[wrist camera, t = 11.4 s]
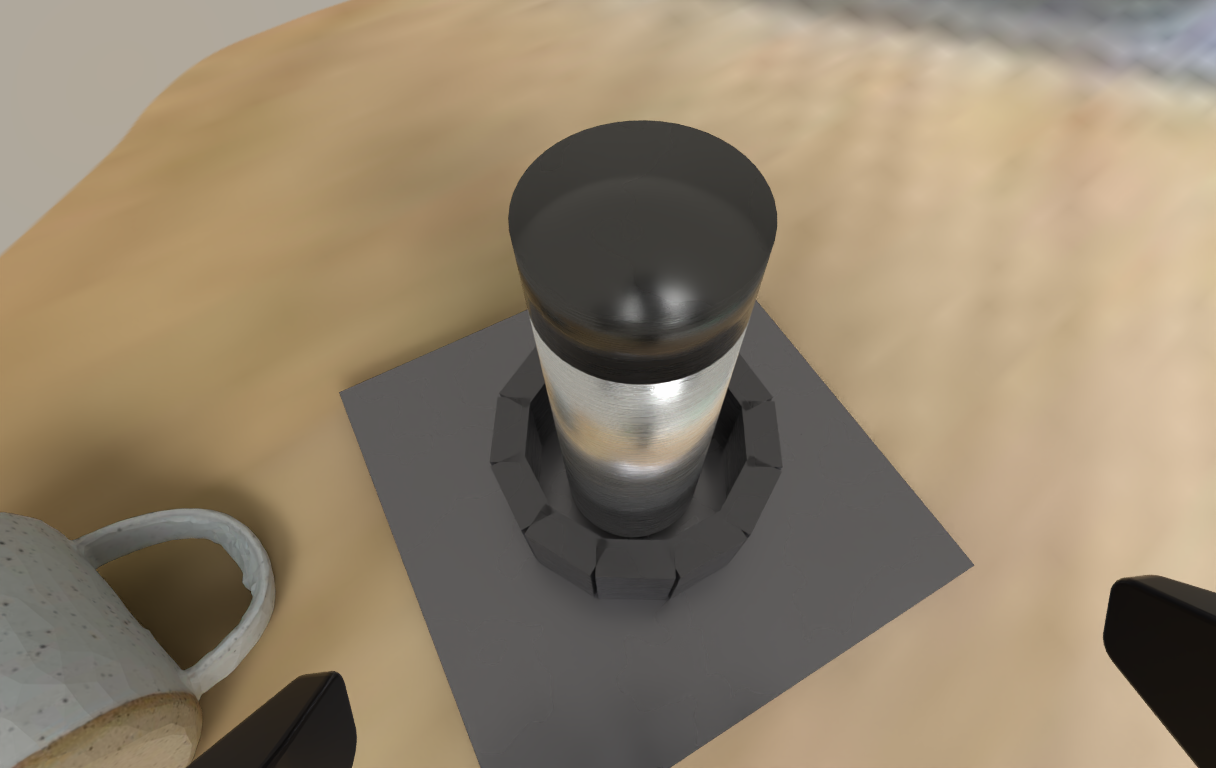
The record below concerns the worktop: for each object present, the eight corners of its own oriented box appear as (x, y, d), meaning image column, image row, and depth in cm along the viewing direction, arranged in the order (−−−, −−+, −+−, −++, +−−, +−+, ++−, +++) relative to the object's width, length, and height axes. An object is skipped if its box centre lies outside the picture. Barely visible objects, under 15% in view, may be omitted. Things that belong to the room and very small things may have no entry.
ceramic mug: (48, 969, 15) (-379, 1159, 9) (-112, 758, 18) (-549, 781, 11) (352, 610, 20) (222, 553, 13) (192, 476, 22) (12, 369, 15)
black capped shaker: (653, 563, 19) (691, 369, 8) (543, 491, 21) (452, 240, 10) (719, 455, 21) (822, 179, 10) (613, 395, 22) (604, 91, 11)
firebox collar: (522, 861, 16) (495, 906, 13) (347, 402, 23) (295, 341, 19) (962, 570, 20) (1042, 537, 16) (698, 245, 27) (712, 169, 23)
